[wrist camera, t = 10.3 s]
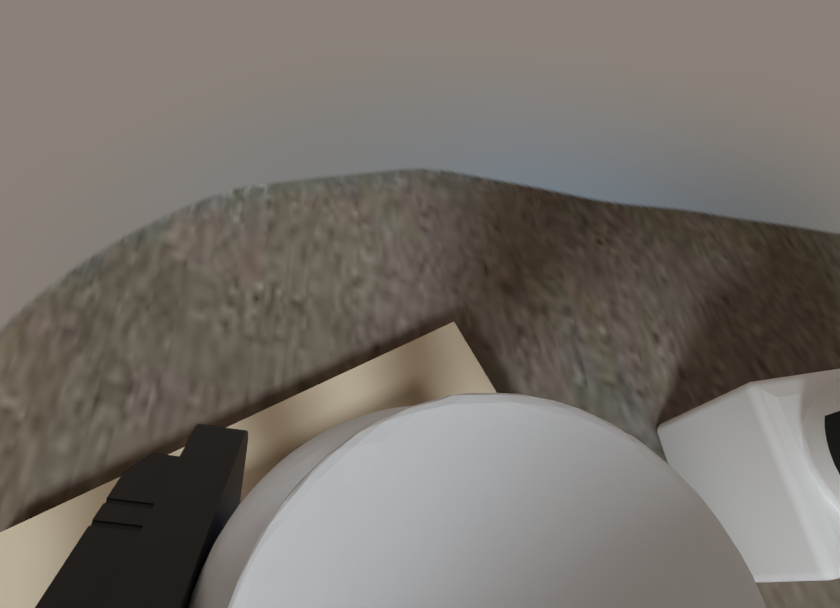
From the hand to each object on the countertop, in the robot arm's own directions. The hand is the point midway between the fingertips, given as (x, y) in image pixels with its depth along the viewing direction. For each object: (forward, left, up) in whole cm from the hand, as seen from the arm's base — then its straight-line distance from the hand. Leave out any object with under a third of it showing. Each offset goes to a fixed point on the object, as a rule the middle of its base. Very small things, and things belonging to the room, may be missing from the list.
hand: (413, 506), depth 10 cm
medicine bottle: (-18, +6, -17) cm, 26 cm away
